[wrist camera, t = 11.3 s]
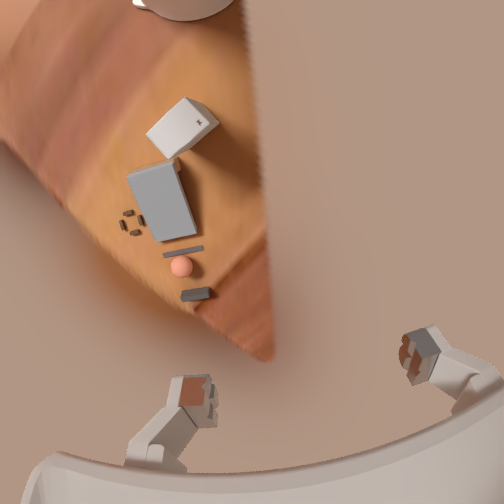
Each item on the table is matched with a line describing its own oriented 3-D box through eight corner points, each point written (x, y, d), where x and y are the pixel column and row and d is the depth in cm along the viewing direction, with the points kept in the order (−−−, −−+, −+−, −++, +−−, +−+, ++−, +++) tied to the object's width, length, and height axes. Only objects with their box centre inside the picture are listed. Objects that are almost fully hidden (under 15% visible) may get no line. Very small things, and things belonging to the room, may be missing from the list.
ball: (166, 267, 42) (169, 253, 45) (174, 284, 44) (176, 270, 47) (187, 262, 42) (189, 249, 45) (194, 280, 44) (196, 266, 47)
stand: (117, 213, 42) (116, 215, 42) (138, 207, 42) (137, 209, 41) (125, 235, 44) (124, 237, 43) (146, 230, 44) (145, 231, 43)
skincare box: (201, 102, 35) (185, 94, 25) (220, 123, 37) (212, 123, 26) (170, 129, 37) (143, 134, 26) (189, 150, 38) (169, 162, 28)
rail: (182, 290, 49) (180, 297, 47) (208, 286, 49) (207, 292, 47) (184, 295, 50) (182, 301, 48) (210, 291, 49) (209, 297, 47)
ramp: (135, 168, 39) (125, 174, 35) (177, 156, 39) (171, 160, 35) (157, 239, 44) (150, 251, 41) (197, 230, 44) (193, 241, 40)
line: (162, 253, 46) (162, 253, 46) (202, 245, 45) (202, 245, 45) (164, 257, 46) (164, 257, 46) (203, 249, 46) (203, 250, 46)
